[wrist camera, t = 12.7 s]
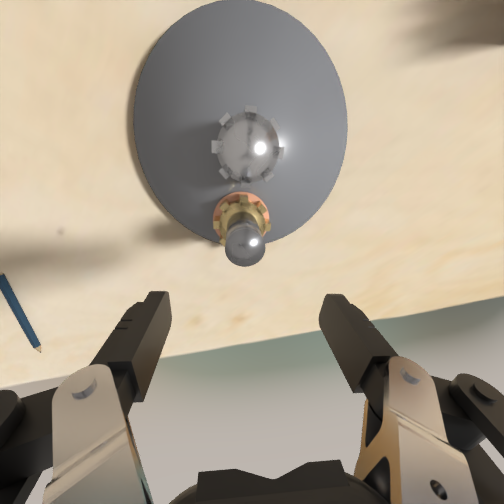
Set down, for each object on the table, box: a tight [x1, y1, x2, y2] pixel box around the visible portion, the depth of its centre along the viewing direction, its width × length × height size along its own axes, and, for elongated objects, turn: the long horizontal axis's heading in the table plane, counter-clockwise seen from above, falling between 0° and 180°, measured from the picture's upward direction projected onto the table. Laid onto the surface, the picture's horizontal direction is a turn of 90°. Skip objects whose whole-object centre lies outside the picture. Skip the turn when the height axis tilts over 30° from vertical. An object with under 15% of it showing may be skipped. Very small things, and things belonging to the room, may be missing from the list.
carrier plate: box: [133, 0, 347, 243], centre depth 19 cm, size 22×22×6 cm
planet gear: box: [213, 194, 271, 267], centre depth 20 cm, size 6×6×8 cm
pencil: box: [0, 274, 41, 353], centre depth 29 cm, size 1×1×15 cm
